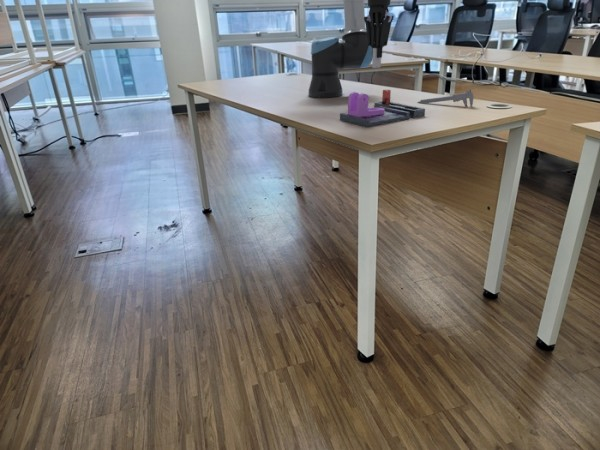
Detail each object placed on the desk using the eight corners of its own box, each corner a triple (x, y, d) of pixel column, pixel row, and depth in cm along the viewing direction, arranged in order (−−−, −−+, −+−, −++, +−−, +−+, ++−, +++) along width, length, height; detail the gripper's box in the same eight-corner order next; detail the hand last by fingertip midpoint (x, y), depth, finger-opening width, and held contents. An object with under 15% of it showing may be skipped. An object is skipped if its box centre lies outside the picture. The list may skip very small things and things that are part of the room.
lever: (380, 107, 154) (380, 90, 151) (386, 106, 155) (386, 89, 152) (399, 111, 146) (400, 93, 143) (405, 110, 147) (406, 92, 145)
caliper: (472, 107, 153) (474, 89, 150) (471, 107, 152) (474, 89, 150) (418, 103, 164) (419, 86, 161) (417, 103, 163) (418, 86, 160)
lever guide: (374, 109, 155) (374, 102, 154) (384, 107, 157) (384, 100, 156) (413, 118, 140) (414, 110, 139) (424, 115, 142) (425, 108, 141)
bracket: (358, 116, 135) (360, 94, 132) (347, 114, 139) (348, 92, 136) (387, 113, 141) (390, 92, 139) (376, 111, 146) (378, 90, 143)
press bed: (339, 120, 142) (339, 113, 141) (380, 112, 150) (381, 106, 149) (366, 127, 131) (366, 120, 130) (409, 118, 139) (409, 112, 138)
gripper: (358, -6, 145) (357, 67, 155) (383, -9, 135) (380, 69, 145) (375, -6, 148) (372, 65, 159) (401, -9, 138) (396, 67, 149)
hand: (376, 67), depth 152 cm, fingers closed
